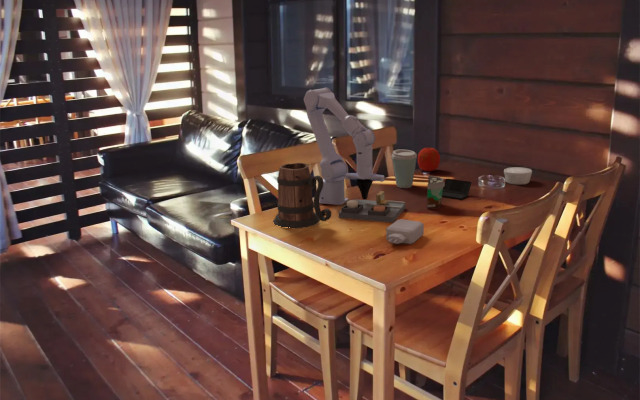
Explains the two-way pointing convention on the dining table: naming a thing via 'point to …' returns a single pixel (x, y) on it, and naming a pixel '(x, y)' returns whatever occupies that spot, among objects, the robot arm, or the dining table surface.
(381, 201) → the tall mustard sponge block
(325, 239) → the dining table surface
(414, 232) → the grey plastic bottle
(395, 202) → the control panel
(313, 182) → the tankard
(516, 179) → the ramekin
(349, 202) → the cream button
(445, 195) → the handheld gaming console
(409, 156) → the disposable coffee cup
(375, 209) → the terracotta button
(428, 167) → the apple
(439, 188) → the food container
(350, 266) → the dining table surface
